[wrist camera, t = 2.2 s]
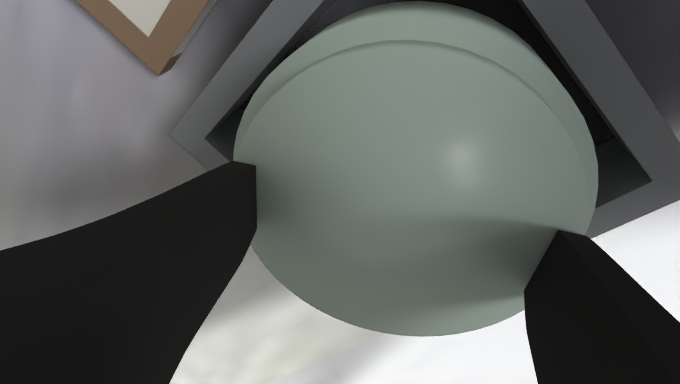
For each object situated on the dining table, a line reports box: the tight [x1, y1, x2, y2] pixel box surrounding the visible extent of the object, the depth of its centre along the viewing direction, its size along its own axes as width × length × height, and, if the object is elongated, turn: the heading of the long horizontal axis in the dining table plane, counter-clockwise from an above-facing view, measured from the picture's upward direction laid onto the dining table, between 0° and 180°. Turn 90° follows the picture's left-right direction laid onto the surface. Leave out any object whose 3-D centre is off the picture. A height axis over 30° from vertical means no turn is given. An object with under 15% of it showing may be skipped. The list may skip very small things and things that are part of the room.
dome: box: [233, 1, 598, 336], centre depth 11 cm, size 9×9×3 cm
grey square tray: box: [169, 0, 680, 239], centre depth 14 cm, size 12×12×3 cm
